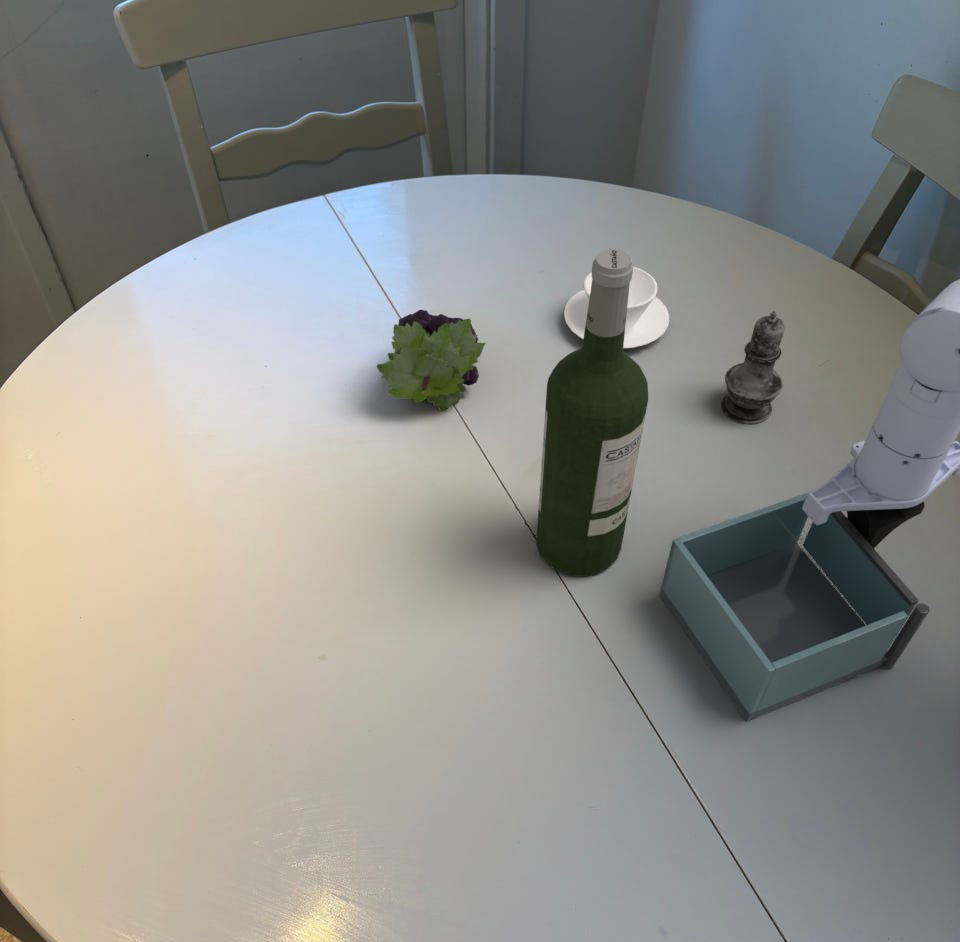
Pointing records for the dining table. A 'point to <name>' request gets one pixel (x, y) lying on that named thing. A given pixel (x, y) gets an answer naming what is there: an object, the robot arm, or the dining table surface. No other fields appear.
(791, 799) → the dining table surface
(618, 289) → the wine bottle
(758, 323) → the grey chess piece
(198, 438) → the dining table surface
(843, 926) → the dining table surface
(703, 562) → the light blue open box
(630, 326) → the teacup
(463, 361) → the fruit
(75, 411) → the dining table surface
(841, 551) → the blue flat panel
